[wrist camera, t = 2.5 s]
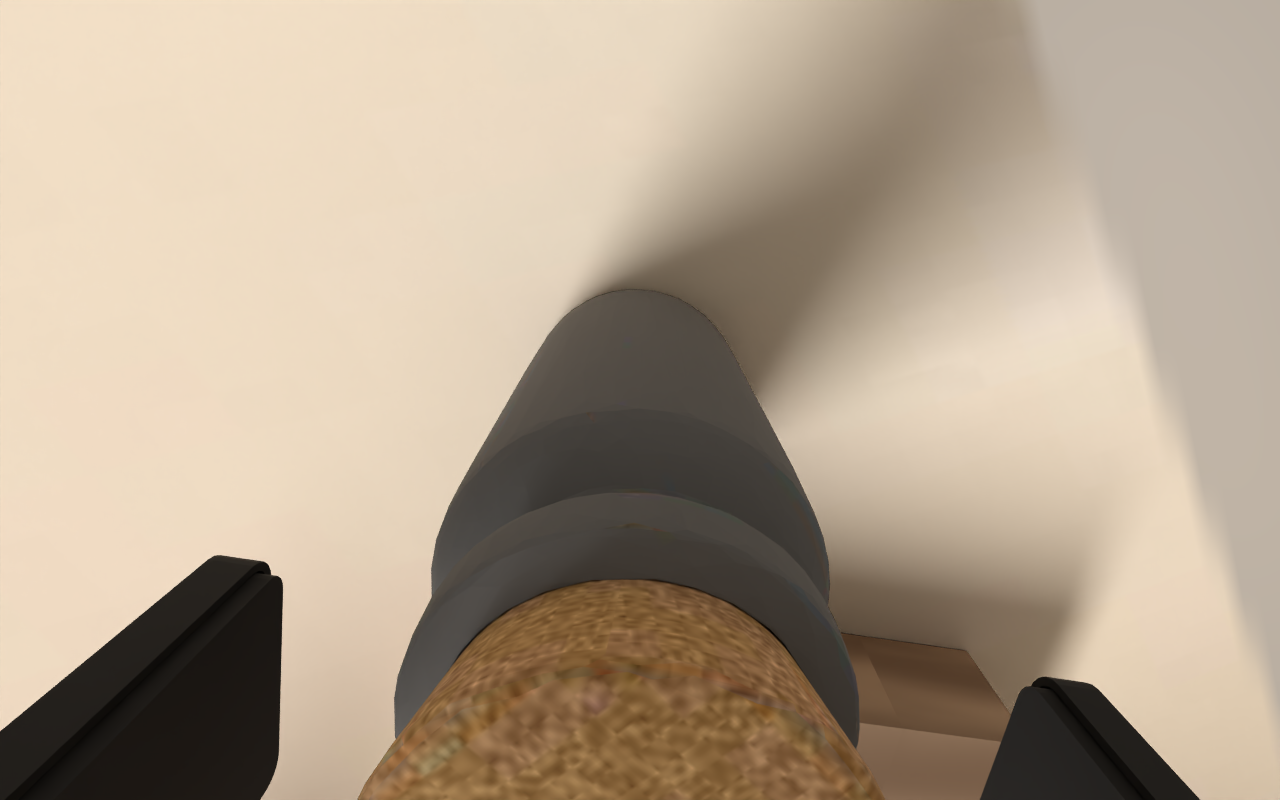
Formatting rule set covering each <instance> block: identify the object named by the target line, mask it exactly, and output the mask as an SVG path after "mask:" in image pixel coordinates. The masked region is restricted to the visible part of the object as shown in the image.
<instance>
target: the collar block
mask: <svg viewBox="0 0 1280 800" xmlns="http://www.w3.org/2000/svg"><path fill="white" fill-rule="evenodd" d="M841 636H842V638H843V641H844V643H845V645H846V648H847V651H848V654H849V657H850V660H851V663H852V666H853V669H854V672H855V675H856V681H857V688H858V694H859V718H860V731H859V741H858V745H857V748H856V750H857V752H858V753H859V755H860V756H861V758H862V759H863V761H864V762H865V763H866V765H867V766H868V768H869V769H870V771H871V773H872V775H873V776H874V778H875V780H876V782H877V784H878V786H879V788H880V790H881V792H882V794H883V796H884V798H885V800H980V798H981V795H982V792H983V790H984V787H985V784H986V781H987V779H988V776H989V773H990V771H991V768H992V765H993V763H994V760H995V757H996V754H997V752H998V749H999V746H1000V744H1001V741H1002V738H1003V735H1004V733H1005V730H1006V727H1007V725H1008V722H1009V719H1010V716H1011V715H1010V713H1009V712H1008V710H1007V709H1006V707H1005V706H1004V704H1003V703H1002V701H1001V700H1000V699H999V697H998V696H997V694H996V693H995V691H994V690H993V688H992V687H991V685H990V684H989V683H988V681H987V680H986V678H985V677H984V675H983V674H982V672H981V671H980V670H979V668H978V667H977V665H976V664H975V662H974V661H973V659H972V658H971V656H970V655H969V654H968V652H967V651H964V650H956V649H949V648H942V647H935V646H928V645H921V644H914V643H907V642H900V641H893V640H886V639H879V638H872V637H865V636H858V635H851V634H843V633H841Z"/></svg>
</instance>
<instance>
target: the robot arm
mask: <svg viewBox="0 0 1280 800" xmlns="http://www.w3.org/2000/svg"><path fill="white" fill-rule="evenodd" d="M282 607H283V583H282V580H281V578H280V577H278V576H273V575H271V570H270V568H269V565H268V564H267V563H265V562H263V561H256V560H249V559H242V558H235V557H229V556H222V555H217V556H213V557H212V558H210V559H208V560H207V561H206V562H205V563H203V564H202V565H201V566H200V567H199V568H197V569H196V570H195V571H194V572H193V573H191V574H190V575H189V576H188V577H186V578H185V579H184V580H183V581H182V582H180V583H179V584H178V585H177V586H176V587H174V588H173V589H172V590H171V591H170V592H168V593H167V594H166V595H165V596H163V597H162V598H161V599H160V600H159V601H157V602H156V603H155V604H154V605H153V606H151V607H150V608H149V609H148V610H147V611H145V612H144V613H143V614H142V615H140V616H139V617H138V618H137V619H136V620H134V621H133V622H132V623H131V624H130V625H128V626H127V627H126V628H125V629H124V630H122V631H121V632H120V633H119V634H117V635H116V636H115V637H114V638H113V639H111V640H110V641H109V642H108V643H107V644H105V645H104V646H103V647H102V648H101V649H99V650H98V651H97V652H96V653H94V654H93V655H92V656H91V657H90V658H88V659H87V660H86V661H85V662H84V663H82V664H81V665H80V666H79V667H78V668H76V669H75V670H74V671H73V672H71V673H70V674H69V675H68V676H67V677H65V678H64V679H63V680H62V681H61V682H59V683H58V684H57V685H56V686H55V687H53V688H52V689H51V690H50V691H48V692H47V693H46V694H45V695H44V696H42V697H41V698H40V699H39V700H38V701H36V702H35V703H34V704H33V705H32V706H30V707H29V708H28V709H27V710H25V711H24V712H23V713H22V714H21V715H19V716H18V717H17V718H16V719H15V720H13V721H12V722H11V723H10V724H9V725H7V726H6V727H5V728H4V729H2V730H1V731H0V800H260V799H261V797H262V796H263V794H264V793H265V791H266V790H267V788H268V786H269V784H270V782H271V780H272V777H273V775H274V772H275V769H276V766H277V761H278V755H279V724H280V685H281V646H282ZM980 800H1200V799H1199V798H1198V797H1197V796H1196V795H1195V794H1194V793H1193V792H1192V790H1191V789H1190V788H1189V787H1188V786H1187V785H1186V784H1185V783H1184V782H1183V781H1182V780H1181V779H1180V777H1179V776H1178V775H1177V774H1176V773H1175V772H1174V771H1173V770H1172V769H1171V768H1170V767H1169V765H1168V764H1167V763H1166V762H1165V761H1164V760H1163V759H1162V758H1161V757H1160V756H1159V755H1158V754H1157V752H1156V751H1155V750H1154V749H1153V748H1152V747H1151V746H1150V745H1149V744H1148V743H1147V742H1146V741H1145V739H1144V738H1143V737H1142V736H1141V735H1140V734H1139V733H1138V732H1137V731H1136V730H1135V729H1134V728H1133V726H1132V725H1131V724H1130V723H1129V722H1128V721H1127V720H1126V719H1125V718H1124V717H1123V716H1122V715H1121V713H1120V712H1119V711H1118V710H1117V709H1116V708H1115V707H1114V706H1113V705H1112V704H1111V703H1110V702H1109V700H1108V699H1107V698H1106V697H1105V696H1104V695H1103V694H1102V693H1101V692H1100V691H1099V690H1098V689H1097V688H1096V687H1094V686H1093V685H1091V684H1088V683H1085V682H1078V681H1071V680H1064V679H1057V678H1051V677H1041V678H1038V679H1037V680H1036V681H1034V682H1033V684H1032V686H1029V687H1025V688H1023V689H1022V690H1021V692H1020V693H1019V695H1018V698H1017V700H1016V703H1015V706H1014V708H1013V711H1012V714H1011V716H1010V719H1009V722H1008V725H1007V727H1006V730H1005V733H1004V735H1003V738H1002V741H1001V744H1000V746H999V749H998V752H997V754H996V757H995V760H994V763H993V765H992V768H991V771H990V773H989V776H988V779H987V781H986V784H985V787H984V790H983V792H982V795H981V798H980Z"/></svg>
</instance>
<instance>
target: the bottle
mask: <svg viewBox="0 0 1280 800" xmlns="http://www.w3.org/2000/svg"><path fill="white" fill-rule="evenodd" d="M431 578H432V598H431V600H430V602H429V604H428V606H427V608H426V610H425V612H424V614H423V616H422V618H421V620H420V621H419V623H418V625H417V627H416V629H415V631H414V633H413V635H412V638H411V641H410V644H409V646H408V649H407V652H406V655H405V657H404V660H403V663H402V666H401V669H400V671H399V674H398V678H397V685H396V691H395V697H394V705H395V738H396V740H395V741H394V743H393V744H392V745H391V747H390V748H389V750H388V751H387V753H386V754H385V756H384V757H383V758H382V760H381V761H380V763H379V764H378V766H377V767H376V769H375V770H374V772H373V773H372V775H371V776H370V777H369V779H368V780H367V782H366V783H365V785H364V787H363V789H362V791H361V793H360V795H359V798H358V800H885V798H884V796H883V794H882V792H881V790H880V788H879V786H878V784H877V782H876V780H875V778H874V776H873V775H872V773H871V771H870V769H869V768H868V766H867V765H866V763H865V762H864V761H863V759H862V758H861V756H860V755H859V753H858V752H857V750H856V748H857V745H858V741H859V731H860V718H859V694H858V688H857V681H856V675H855V672H854V669H853V666H852V663H851V660H850V657H849V654H848V651H847V648H846V645H845V643H844V641H843V638H842V636H841V633H840V631H839V629H838V626H837V624H836V621H835V619H834V617H833V616H832V614H831V612H830V610H829V608H828V600H829V587H830V580H829V563H828V557H827V552H826V548H825V543H824V538H823V535H822V532H821V530H820V527H819V524H818V522H817V519H816V516H815V514H814V511H813V509H812V507H811V505H810V503H809V501H808V499H807V496H806V494H805V492H804V490H803V488H802V486H801V484H800V481H799V479H798V477H797V475H796V473H795V471H794V469H793V466H792V465H791V463H790V461H789V459H788V457H787V455H786V453H785V451H784V449H783V448H782V446H781V444H780V442H779V440H778V438H777V436H776V434H775V432H774V430H773V429H772V427H771V425H770V423H769V421H768V419H767V417H766V415H765V413H764V412H763V410H762V408H761V406H760V404H759V402H758V400H757V398H756V396H755V394H754V393H753V391H752V389H751V387H750V385H749V383H748V381H747V379H746V377H745V376H744V374H743V372H742V370H741V368H740V366H739V364H738V362H737V360H736V358H735V357H734V355H733V353H732V351H731V350H730V348H729V346H728V344H727V343H726V341H725V339H724V338H723V336H722V335H721V334H720V332H719V331H718V330H717V328H716V327H715V326H714V325H713V324H712V323H711V322H710V321H709V320H708V319H707V318H706V317H705V316H704V315H703V314H702V313H700V312H699V311H698V310H696V309H695V308H693V307H692V306H690V305H689V304H688V303H686V302H684V301H682V300H680V299H678V298H675V297H672V296H669V295H666V294H663V293H659V292H656V291H648V290H622V291H614V292H610V293H607V294H603V295H600V296H597V297H594V298H592V299H590V300H588V301H586V302H585V303H583V304H581V305H580V306H578V307H577V308H575V309H573V310H572V311H571V312H570V313H568V314H567V315H566V316H565V317H564V318H562V320H561V321H560V322H559V323H558V324H557V325H556V327H555V328H554V329H553V330H552V331H551V332H550V334H549V335H548V336H547V338H546V339H545V341H544V343H543V344H542V346H541V347H540V349H539V350H538V352H537V354H536V355H535V357H534V358H533V360H532V362H531V363H530V365H529V366H528V368H527V370H526V371H525V373H524V375H523V376H522V378H521V380H520V382H519V383H518V385H517V387H516V389H515V390H514V392H513V394H512V395H511V397H510V399H509V401H508V402H507V404H506V406H505V408H504V409H503V411H502V413H501V414H500V416H499V418H498V420H497V421H496V423H495V425H494V427H493V428H492V430H491V432H490V433H489V435H488V437H487V439H486V440H485V442H484V444H483V445H482V447H481V449H480V451H479V452H478V454H477V456H476V458H475V459H474V461H473V463H472V465H471V466H470V468H469V470H468V472H467V473H466V475H465V477H464V479H463V481H462V482H461V484H460V486H459V488H458V490H457V492H456V494H455V496H454V497H453V499H452V501H451V503H450V505H449V507H448V510H447V512H446V515H445V518H444V520H443V523H442V526H441V528H440V531H439V534H438V536H437V539H436V544H435V550H434V556H433V562H432V567H431Z"/></svg>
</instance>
